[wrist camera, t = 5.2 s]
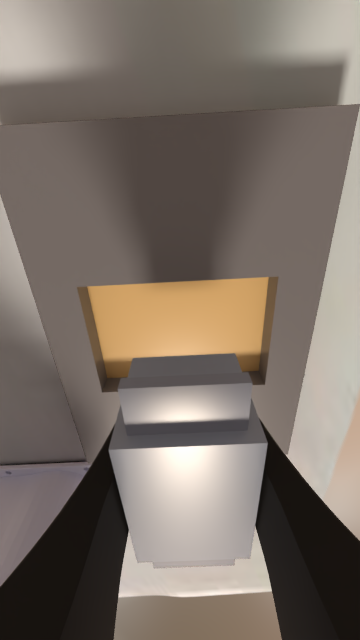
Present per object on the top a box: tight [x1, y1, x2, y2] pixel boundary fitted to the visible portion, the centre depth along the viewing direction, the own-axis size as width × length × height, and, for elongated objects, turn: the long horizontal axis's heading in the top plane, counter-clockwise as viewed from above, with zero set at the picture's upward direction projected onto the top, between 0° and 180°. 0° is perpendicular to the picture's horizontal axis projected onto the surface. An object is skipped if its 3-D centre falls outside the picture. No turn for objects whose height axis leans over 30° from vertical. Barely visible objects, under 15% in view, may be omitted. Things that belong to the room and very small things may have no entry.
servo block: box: [108, 353, 268, 568], centre depth 10 cm, size 4×9×4 cm, turn 3°
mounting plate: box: [0, 104, 360, 463], centre depth 16 cm, size 16×22×2 cm
